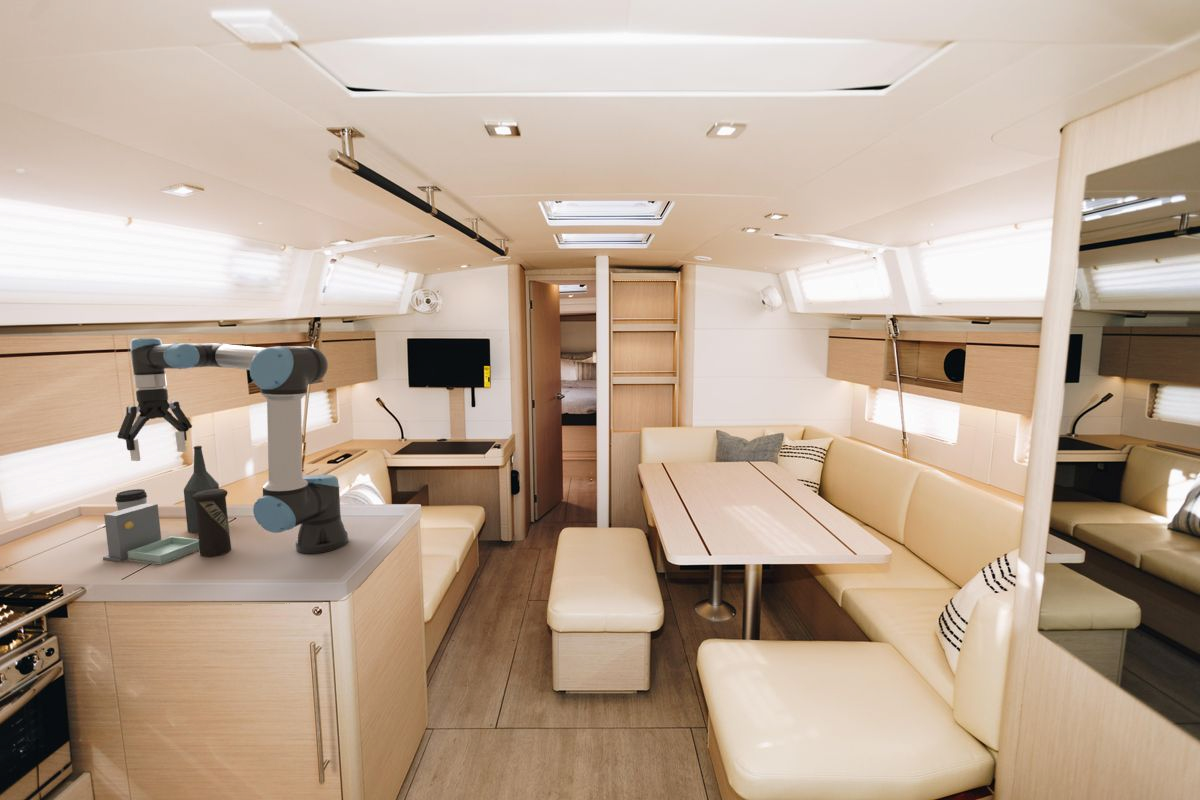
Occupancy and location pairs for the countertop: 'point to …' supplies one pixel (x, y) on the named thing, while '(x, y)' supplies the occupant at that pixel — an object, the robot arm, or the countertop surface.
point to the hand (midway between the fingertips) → (159, 455)
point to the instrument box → (131, 530)
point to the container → (212, 522)
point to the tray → (164, 550)
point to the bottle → (197, 488)
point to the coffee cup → (130, 498)
